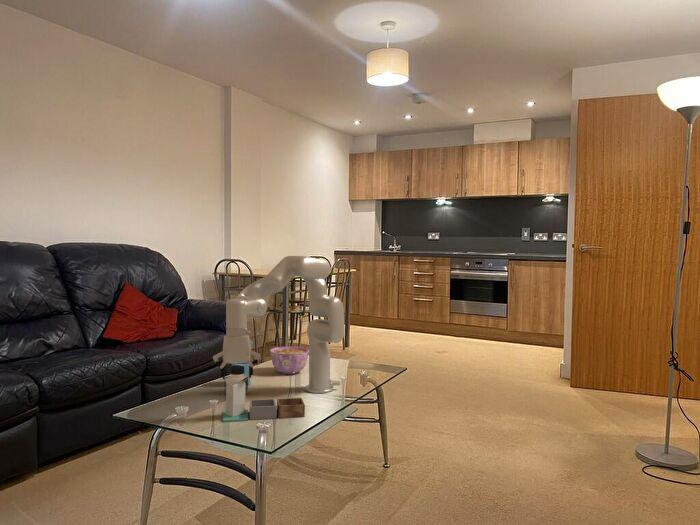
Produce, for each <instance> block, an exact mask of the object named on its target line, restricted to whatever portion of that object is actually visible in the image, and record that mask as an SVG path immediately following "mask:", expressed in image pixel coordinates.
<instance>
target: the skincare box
mask: <svg viewBox="0 0 700 525" xmlns="http://www.w3.org/2000/svg"><path fill="white" fill-rule="evenodd" d="M225 384H226V385H225V388H226V389H225V410H226V415H228V416H231V417H234V416H238V415H241V414H244V413H245V409H246V393H245V382H243V381H239V380H238V381H234V382H230V383H225Z"/></svg>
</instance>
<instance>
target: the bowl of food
mask: <svg viewBox="0 0 700 525" xmlns="http://www.w3.org/2000/svg"><path fill="white" fill-rule="evenodd" d="M269 354H270V357H271V363H272V365H273V367H274V369H275V371H278V372H280V373H281V374H283V375H296V374H297V373H299V372H301V371H302V370H304V368H305V367H306V365H307V361H308V359H309V348H307V347H303V346H277V347H272V348H271V349H270V350H269ZM298 371H299V372H298ZM293 372H295V373H293Z"/></svg>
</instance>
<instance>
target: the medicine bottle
mask: <svg viewBox="0 0 700 525" xmlns="http://www.w3.org/2000/svg"><path fill="white" fill-rule="evenodd" d="M238 380H239V381H243V382H245V394H247V393H248V391H249V386H248V376H246V375H244V366H242V365H233V366H232V365H231V366H230V368H229V376H228V377H227V378H226V380H225V382H226V383H230V382H234V381H238ZM226 383H225V384H226Z"/></svg>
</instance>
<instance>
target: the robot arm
mask: <svg viewBox="0 0 700 525" xmlns="http://www.w3.org/2000/svg"><path fill="white" fill-rule="evenodd" d="M330 274H331V264H330V262H328V261H327V260H326V259H323V258H318V257H312V256H311V257H310V256H306V255H287V256H284V257H283V258H282V259H281V260H280V261H279V262H277V264H276V265H275V266H274V267H273V268H272V269H271V270H270V271H269V272H268V273H267V274H266V275H265V276H264V277H262V278H259V279H258V280H255V281H254V282H252V283H250V284H248V285H247V286H246V287H244V288H243V289H242V290H241V291H240V292H239V293H238V294H237V295H236V297H235V298H229V299H228V300H227V301H226V306H225V309H226V310H225V313H226V314H225V315H226V317H225V319H226V320H225V321H226V322H225V323H226V324H225V325H226V326H225V327H226V328H225V329H226V331H225V332H226V335H224V336H223V344H222V351H220V352H218V353H216V354H214V355H213V356H212V360H213V361H214V363H215V365H216V366H218V368H220V377H221V378H222V380H225V378H226V375H225V374H226V372H225V371H226V367H225V366H226V365H227V364H232V363H246V362H247V363H248V364H249V365H250V366H249V378H250V379H252V376H254V367H255V365H256V364H257V363H258V362H259V359H260V357H261V354H260V353H258V352H256V351H254V350H251V349H252V347H251V348H250V341H251V339H250V334H248V333H251V332H252V329H251V328H248V318H259V317H262V316H263V315H265V314H266V312H267V310H268V304H267V302H266V300H264V299H263V298H264V297H266V296H271V295H275V294H277V293H280V292H282V290H284V288H285V287H286V286H287V285H288V284H289V283H291V281H292V280H293V279H294V278H295V277H300V278H301V279H302V280H303V281H304V282H305V285H306V287H307V297H308V310H309V314H311V315H312V316H313V317H318V318H316V319H311V321H309V323H308V324H307V328H306V333H307V340H308V349H309V354H308V384H307V385H306V386H305V387H304V389H305V391H306V392H308V393H313V394H326V393H330V392H333V391H334V386H341V381H340V380H332V379H331V348H330V344H329V343H333V344H338V343H341V342H342V341H343V339H344V337H345V332H346V330H345V327H346V326H345V311H344V309H345V308H344V304H343V302H342V300H341V299H340V298H339V297H337V296H333V295H332V296H331V295H328V294H329V293H328V287H327V286H328V285H327V281H326V280H325V279H326V278H327V277H329V276H330ZM321 318H326V319H321ZM252 356H253V357H255V358H254V360H252V358H251V357H252ZM221 357H222V362H221V361H220V360H219V358H221ZM250 359H251V360H250Z"/></svg>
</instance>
